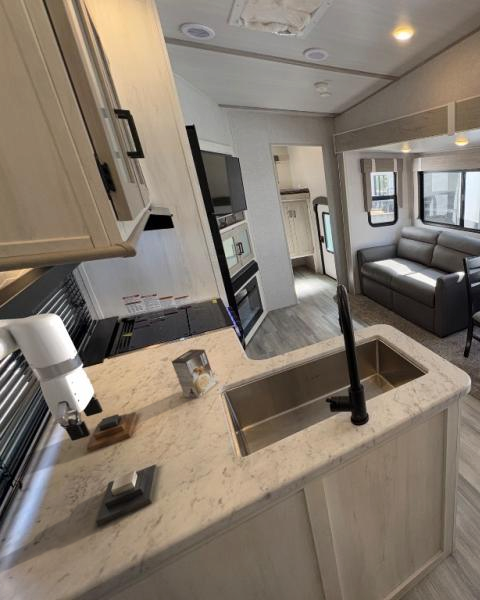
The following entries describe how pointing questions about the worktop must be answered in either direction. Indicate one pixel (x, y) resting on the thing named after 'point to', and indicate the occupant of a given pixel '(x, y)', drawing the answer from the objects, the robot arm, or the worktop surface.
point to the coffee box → (194, 372)
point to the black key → (109, 422)
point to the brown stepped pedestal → (113, 432)
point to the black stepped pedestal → (128, 497)
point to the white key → (124, 483)
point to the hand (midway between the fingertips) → (88, 425)
